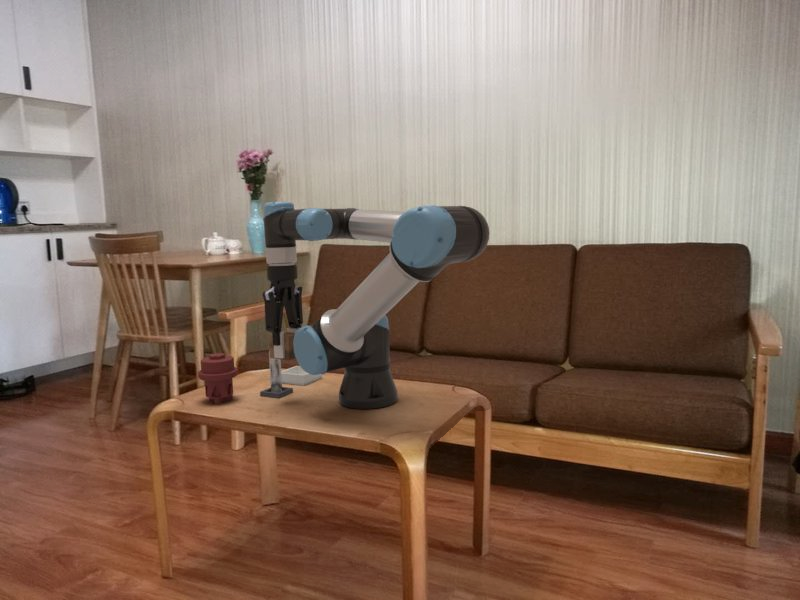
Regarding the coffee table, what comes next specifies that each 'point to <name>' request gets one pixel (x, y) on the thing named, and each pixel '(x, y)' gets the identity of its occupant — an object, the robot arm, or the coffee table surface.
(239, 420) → the coffee table surface
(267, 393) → the socket
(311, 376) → the tray
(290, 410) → the coffee table surface
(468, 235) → the robot arm
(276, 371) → the pin
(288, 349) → the block
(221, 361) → the mechanical component
